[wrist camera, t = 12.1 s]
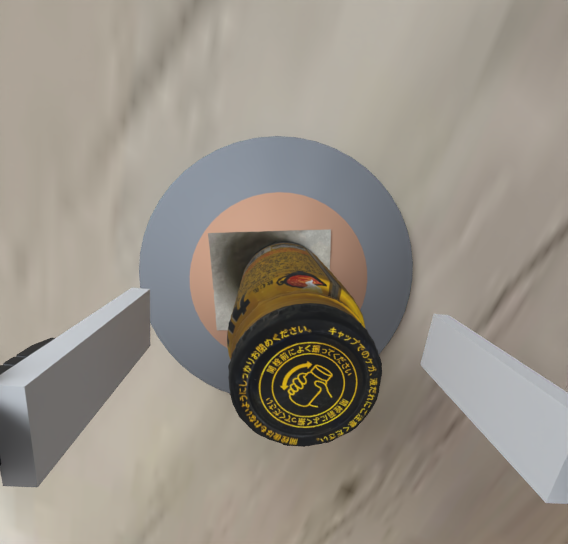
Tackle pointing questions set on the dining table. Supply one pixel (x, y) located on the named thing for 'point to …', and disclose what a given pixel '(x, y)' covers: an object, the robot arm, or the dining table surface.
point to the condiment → (292, 336)
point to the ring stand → (270, 217)
